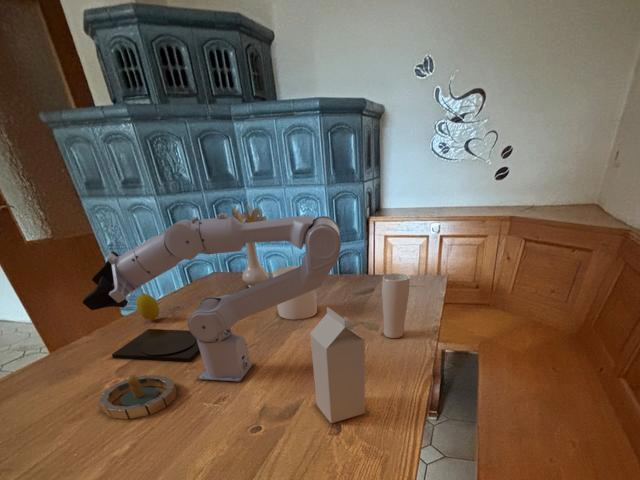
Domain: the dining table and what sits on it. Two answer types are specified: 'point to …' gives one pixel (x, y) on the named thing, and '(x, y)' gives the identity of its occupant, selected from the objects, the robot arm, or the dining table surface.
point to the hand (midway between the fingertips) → (92, 294)
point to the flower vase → (252, 249)
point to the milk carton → (338, 367)
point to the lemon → (147, 306)
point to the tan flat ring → (139, 409)
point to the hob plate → (161, 346)
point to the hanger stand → (137, 393)
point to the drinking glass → (394, 303)
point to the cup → (297, 302)
